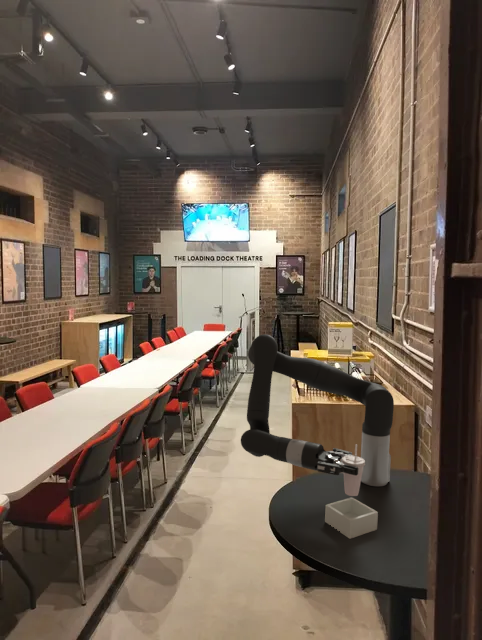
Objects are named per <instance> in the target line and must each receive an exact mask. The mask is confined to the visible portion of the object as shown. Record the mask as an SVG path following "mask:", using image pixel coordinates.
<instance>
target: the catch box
mask: <svg viewBox="0 0 482 640" xmlns="http://www.w3.org/2000/svg"><path fill="white" fill-rule="evenodd" d="M324 509H325V513H324V514H325V516H324V522H325V523H326V524H327V525H329V526H330V525H331V527H332V528H333V527H334V528H333V529H334V530H336V529H337V530H336V531H338V532H339V531H340V532H339V533H340V534H342V535H343V536H345V537H346V538H348V539H354V538H356V537H359V536H362V535H364V534H368V533H371V532H374V531H377V530H378V520H379V519H378V518H379V517H378V516H379V514H378V513H379V512H378V511H377V510H375V509H373V508H372V507H370V506H368V505H366V504H365V503H364V502H361V501H359V500H358V499H356V498H354V496H350V497H347V498H344V499H341V500H338V501H334V502H331V503H327V504H325V508H324Z"/></svg>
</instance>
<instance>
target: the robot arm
mask: <svg viewBox="0 0 482 640" xmlns="http://www.w3.org/2000/svg"><path fill="white" fill-rule="evenodd" d="M278 350H279V345H278V343H277V341H276V339H275V338H274V337H273V336H272V335H270V334H260V335H258V336H256V337H255V339H253V341H252V343H251V344H250V347H249V349H248V351H247V352H248V353H247V357H248V360H249V362H250V363H251V364H252V365H253V374H252V380H251V384H250V390H249V394H248V399H247V400H248V401H247V409H246V410H247V411H246V421H247V423H248V424H249V429H248V430H245V431H244V432H243V433H242V434H241V438H240V444H241V447H242V448H243V450H244V451H246V452H248V453H249V454H251V455H252V456H254V457H256V458H261V457H264V456H265V457H270V458H271V459H273V460H276V461H278V462H279V461H280V462H283V463H287V464H290V465H293V466H296V467H300V468H303V469H304V468H305V469H307V470H313V471H316V472H319V473H323V474H328V475H335V476H339V475H340V474H342V475H343V473H347V474H351V475H358V467H356V466H351V465H347V464H345V465H344V464H343V463H342V462H341V461H342V457H344V456H348V455H352V456H353V452H352V451H348V450H343V449H340V448H337V447H333V448H332V450H325V449H324V446H323V444H321V443H318V442H317V443H316V442H311V441H307V440H302V439H295V438H289V437H284V436H280V435H279V436H277V435H275V434H272V433H271V432H270V424H269V416H270V406H271V404H270V403H271V389H272V388H271V387H272V378H273V372H274V373H278V374H281V375H282V376H283V375H284V376H286V377H288V378H290V379H293V380H295V381H298V382H300V383H303V384H305V385H307V386H310V387H312V388H314V389H316V390H319V391H320V392H321V391H322V392H324V393H330V394H334V395H341V396H345V397H348V398H350V399H352V400H354V401H355V402H358V403H360V404H362V405H363V406H364V407H365V409H364V420H363V423H362V426H361V427H362V429H361V446H360V448H361V449H360V457H361V458H363V459H364V460H365V466H364V467H363V472H362V477H361V483H362V484H365V485H367V486H371V487H384V486H386V485H388V482H390V480H391V477H390V476H391V463H392V462H391V460H392V455H391V454H390V439H391V437H390V436H391V429H392V427H393V419H394V410H395V409H394V407H395V405H394V404H395V401H394V397H393V394H392V392H390V391H389V390H388V389H387V388H386V387H385V386H383V385H381V384H378V383H375V382H372V381H368V380H364V379H361V378H358V377H355V376H353V375H351V374H349V373H347V372H345V371H343V370H341V369H340V368H338V367H335V366H333V365H332V364H331V365H330V364H328V363H326V362H323V361H321V360H318V359H315V358H310V357H309V358H307V357H299V356H298V357H296V356H290V355H287V354H284V353H282V352H280V351H278Z"/></svg>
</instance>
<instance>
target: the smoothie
mask: <svg viewBox="0 0 482 640" xmlns="http://www.w3.org/2000/svg"><path fill="white" fill-rule="evenodd" d="M340 461H341V460H340ZM341 462H342V463H343V464H344V465H345V464H347V465H351V466H356V467H358V475H351V474H347V473H342V475H343V484H344V493H345V495H347V496H349V497H357V496H358V495H359V492H360V488H361V483H362V482H361V477H362V472H363V467H364V466H365V460H364V459H363V458H361V456H358V444H357V443H356V444H354V455H353V454H352V455H348V456H344V457H342V461H341Z"/></svg>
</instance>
